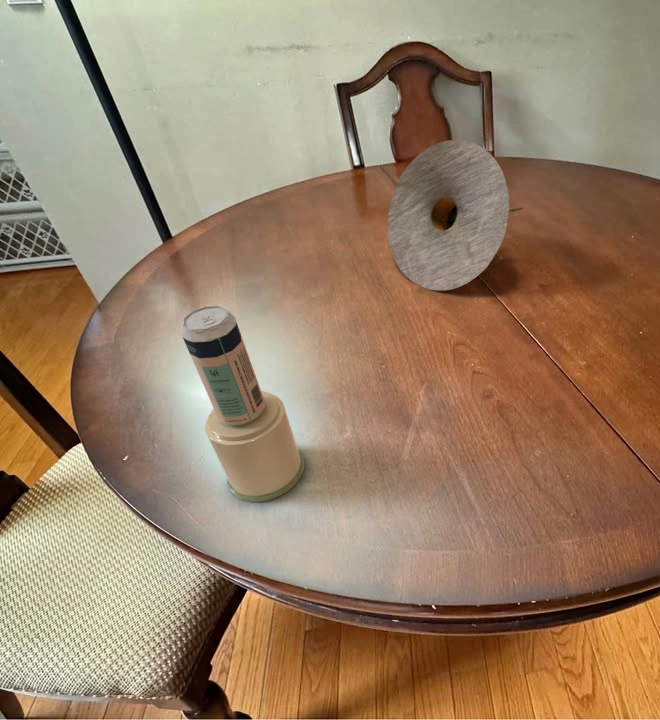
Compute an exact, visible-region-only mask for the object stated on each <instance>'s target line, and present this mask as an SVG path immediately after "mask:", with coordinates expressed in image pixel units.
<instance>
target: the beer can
mask: <svg viewBox="0 0 660 720" xmlns="http://www.w3.org/2000/svg"><path fill="white" fill-rule="evenodd" d="M180 335H181V336H182V339H183V341H184V344H185V346H186V348H187V351H188V353H189V355H190V357H191V360H192V362H193V365H194V366H195V370H196V371H197V373H198V376H199V378H200V380H201V382H202V383H201V384H202V385H203V387H204V390H205V391H206V394H207V396H208V398H209V401H210V403H211V405H212V407H213V409H214V410H215V412H216V415H217V417H218V419H219V420H220V421H221V422H222V423H224V424H227V425H241V424H245V423H248V422H250V421H252V420H254V419H255V418H257V417H258V416H259V415H260V414H261V413H262V412H263V410H264V408H265V400H264V398H263V395H262V392H261V391H262V390H261V387H260V384H259V381H258V378H257V376H256V373H255V370H254V368H253V365H252V362H251V358H250V356H249V353H248V350H247V348H246V344H245V342H244V339H243V336H242V333H241V330H240V328H239V325H238V322H237V318H236V316H235V315H233V314H232V313H231V312H230V311H229V310H228V309H227V308H225V307H223V306H220V305H209V306H208V305H207V306H203V307H199V308H197V309H195V310H192V311H191V312H189V313H188V314H187V315H186V316H185V317H183V319H182V327H181V331H180Z"/></svg>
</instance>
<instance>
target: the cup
mask: <svg viewBox="0 0 660 720" xmlns="http://www.w3.org/2000/svg"><path fill="white" fill-rule="evenodd" d="M261 392H262V395H263V398H264V400H265V408H264V410H263V412H262V413H261V414H260V415H259V416H258V417H257V418H255V419H254V420H252V421H250V422H248V423H245V424H241V425H227V424H224V423H222V422H221V421H220V420H219V419H218V417H217V415H216V412H215V410H214V408H213V409H212V410H211V411H210V413H209V414H208V416H207V419H206V421H205V425H204V430H205V433H206V436H207V438H208V441H209V443H210V444H211V446H212V449H213V451H214V453H215V455H216V457H217V460H218V462H219V464H220V466H221V468H222V470H223V473H224V474H225V476H226V482H227V486H228V487H229V490H230V492H231V493H232V494H233V496H235V498H238V499H239V500H241V501H245V502H249V503H261V502H262V503H263V502H267V501H271V500H274V499H276V498H279V497H281V496H283V495H285V494H286V493H288V492H289V491H290V490H292V489H293V487H295V486H296V485H297V484H298V482H299V481H300V480H301V478H302V476H303V474H304V471H305V460H304V457H303V454H302V452H301V450H300V449H299V446H298V444H297V440H296V438H295V435H294V432H293V428H292V425H291V422H290V420H289V417H288V416H289V415H288V413H287V410H286V407H285V404H284V402H283V400H281V399H280V397H279V396H277V395H275V394H273V393H271V392H267V391H264V390H261Z"/></svg>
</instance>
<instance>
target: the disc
mask: <svg viewBox="0 0 660 720" xmlns="http://www.w3.org/2000/svg"><path fill="white" fill-rule="evenodd" d="M509 197H510V196H509V189H508V184H507V181H506V177H505V174H504V172H503V170H502V168H501V166H500V165H499V163H498V161H497V160H496V159H495V157H494V156H493V155H492V154H491V153H490V152H489V151H487V149H485V148H484V147H482V146H481V145H479V144H477V143H475V142H472V141H470V140H464V139H450V140H449V139H448V140H444V141H440V142H438V143H436V144H435V143H434V144H433V145H431V146H429V147H428V148H426V149H424V150H423V151H421V152H420V153H419V154H418V155H416V157H414V158H413V159H412V161H410V163H408V165H407V166H406V168H405V169H404V170H403V172H402V174H401V175H400V177H399V179H398V181H397V183H396V185H395V187H394V190H393V192H392V197H391V199H390V201H389V202H390V203H389V207H388V212H387V238H388V239H387V240H388V244H389V249H390V252H391V255H392V258H393V260H394V261H395V263H396V265H397V266H398V268H399V270H400V271H401V272H402V274H403V275H404V276H405V277H406V278H407V279H408V280H409V281H411V282H412V283H413V284H416V286H419V287H421V288H423V289H426V290H431V291H439V292H441V291H450V290H455V289H458V288H460V287H462V286H464V285H467V284H468V283H469V282H471V281H473V280H474V279H476V278H477V277H478V276H479V275H480V274H482V273H483V272H484V271H485V270H486V269H487V268H488V266H489V265H490V263H491V262H492V260H493V258H495V259H499V260H504V258H503V256H501V255H500V254H499V253H498V251H499V249H500V247H501V245H502V243H503V240H504V238H505V236H506V235H505V234H506V231H507V227H508V221H509V213H514V212H517V211H520V210H523V209H524V208H523V207H521V206H520V207H518V208H511V209H510V198H509Z"/></svg>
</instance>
